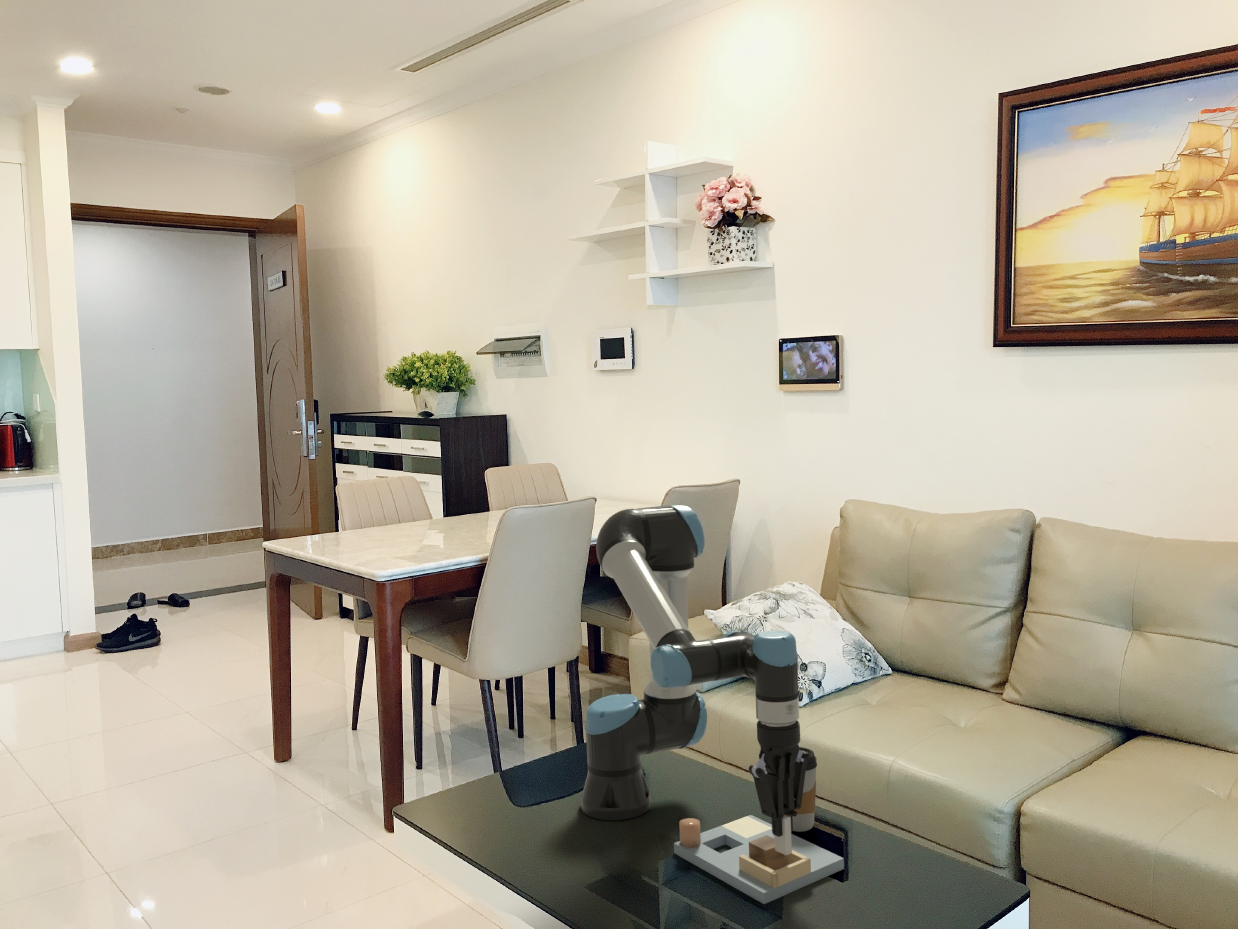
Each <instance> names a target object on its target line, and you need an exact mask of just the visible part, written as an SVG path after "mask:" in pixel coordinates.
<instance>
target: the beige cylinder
mask: <svg viewBox="0 0 1238 929" xmlns="http://www.w3.org/2000/svg"><path fill="white" fill-rule="evenodd" d="M678 827H679V841H680V844H681V845H682V846H684V847H689V848H692V847H697V846H699V845H700V844H701V833H702V832H701V821H700V820H699V819H697V818H694V817H693V818H692V817H691V818H689V817H688V818H683V819H680V820H679V824H678Z"/></svg>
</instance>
